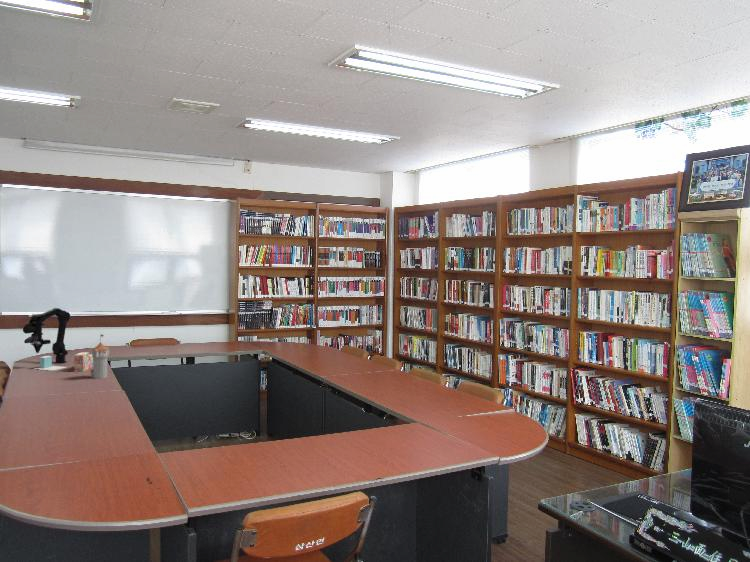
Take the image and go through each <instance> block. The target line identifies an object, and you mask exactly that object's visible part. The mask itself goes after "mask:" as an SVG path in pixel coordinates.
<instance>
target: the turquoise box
mask: <svg viewBox="0 0 750 562" xmlns="http://www.w3.org/2000/svg"><path fill="white" fill-rule="evenodd" d="M52 359H53V356H52V355H45V356H44V355H43V356H41V357H40V356H39V367H40V368H49V367H52V366H53V360H52Z"/></svg>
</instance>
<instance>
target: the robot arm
mask: <svg viewBox="0 0 750 562" xmlns="http://www.w3.org/2000/svg"><path fill="white" fill-rule="evenodd" d="M53 316H56V317H57V321H58V328H57V334H56V335H57V336H56V341H55V342H53V343H51V340H50V339H44V338H43V335H44V332H43V326H45V324H44V323H43V322H45V321H46V320H47V319H49V318H51V317H53ZM70 318H71V314H70V312H68V311H66V310H63V309H61V308H58V307H57V308H56V307H55V308H52V309H49V310H47V311H46V312H43V313H39V314H33V315H32V316H31V318H30V320H29V321H28V323H25V324H24V326H23V328H22V331H23V333H24V334H30V335H31V336H29V337H27V338H25V339H24V342H23V343H24V344H30V345H31V346H33V348H34V350H35V352H36V354H39V353H40V350H41V349H42V347H43V346H44V345H49V344H52V347H51V349H52V350H51V351H52V352H53V353H52V354H53V356H55V361H54V364H65V363H68V361H66V355H68V353H69V351H68V350H67V349H66V345H65V342H64V340H65V334H66V328H67V324H68V322H69V321H70Z"/></svg>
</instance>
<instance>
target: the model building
mask: <svg viewBox="0 0 750 562" xmlns="http://www.w3.org/2000/svg"><path fill="white" fill-rule="evenodd" d="M104 336H105V334H102V333H101V334H100V339H99V340H100V342H99V343H98V344H97V345H96V346H95V347H93V348H92V350H91V354H92V357H93V368H92V369H91V370H89V372H90V378H93V379H106V378H108V357H109V355H110V347H108V346H105V345H104V344H103V343H102V341H101V339H102V338H103V337H104Z"/></svg>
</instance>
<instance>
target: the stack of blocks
mask: <svg viewBox="0 0 750 562" xmlns="http://www.w3.org/2000/svg"><path fill="white" fill-rule="evenodd" d="M73 359H74V360H73V361H74V367H73V370H74V373H75V372H77V373H78V372H82V373H83V372H85V371H88V370H89V369H91V368H94V360H93V357H92V353H91V354H90V351H88V352H85V351H84V352H83V351H82V352H79V353H76V354H74V358H73Z"/></svg>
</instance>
